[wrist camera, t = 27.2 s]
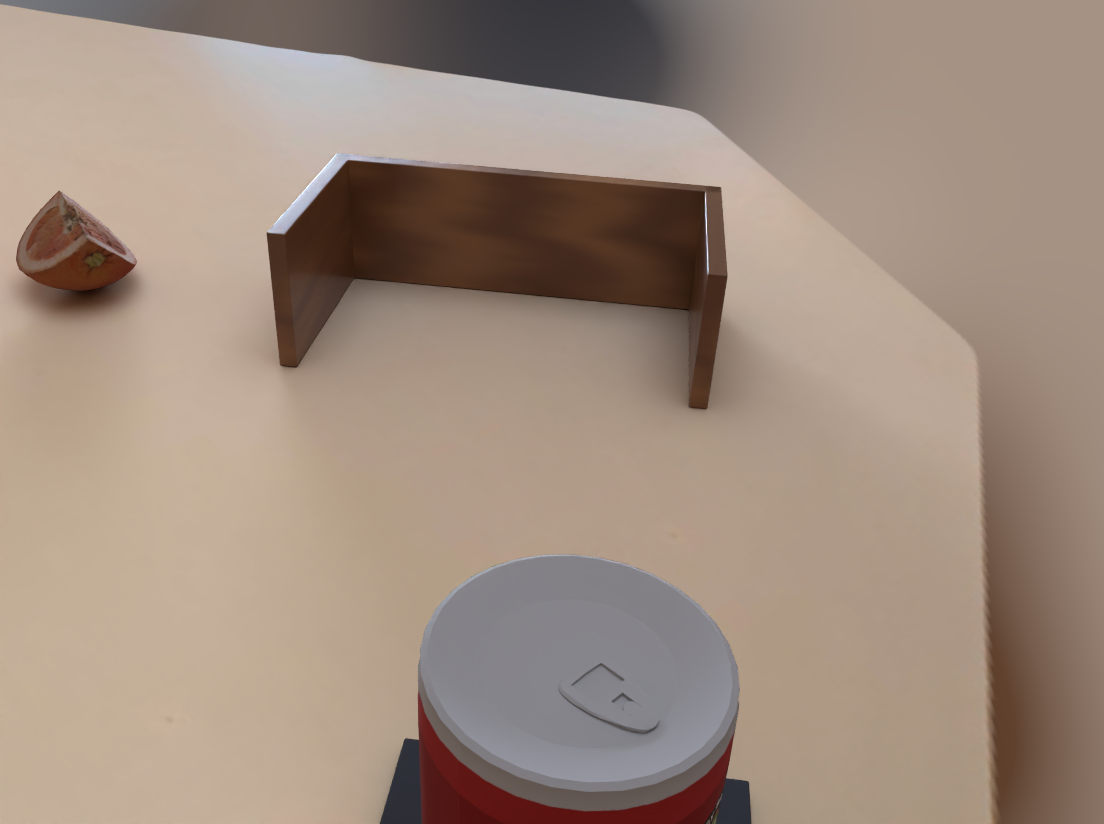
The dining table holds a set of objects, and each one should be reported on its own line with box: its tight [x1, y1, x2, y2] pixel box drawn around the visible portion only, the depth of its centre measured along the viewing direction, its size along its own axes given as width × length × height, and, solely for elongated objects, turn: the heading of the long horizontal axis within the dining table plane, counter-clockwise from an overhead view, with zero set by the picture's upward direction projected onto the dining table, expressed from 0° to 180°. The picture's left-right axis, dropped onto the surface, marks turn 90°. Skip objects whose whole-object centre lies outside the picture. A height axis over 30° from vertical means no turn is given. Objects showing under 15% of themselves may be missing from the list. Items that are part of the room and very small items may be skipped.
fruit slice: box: [16, 191, 137, 291], centre depth 64 cm, size 8×7×5 cm
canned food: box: [418, 555, 740, 824], centre depth 28 cm, size 8×8×11 cm
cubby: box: [267, 154, 727, 408], centre depth 61 cm, size 24×13×8 cm, turn 84°
